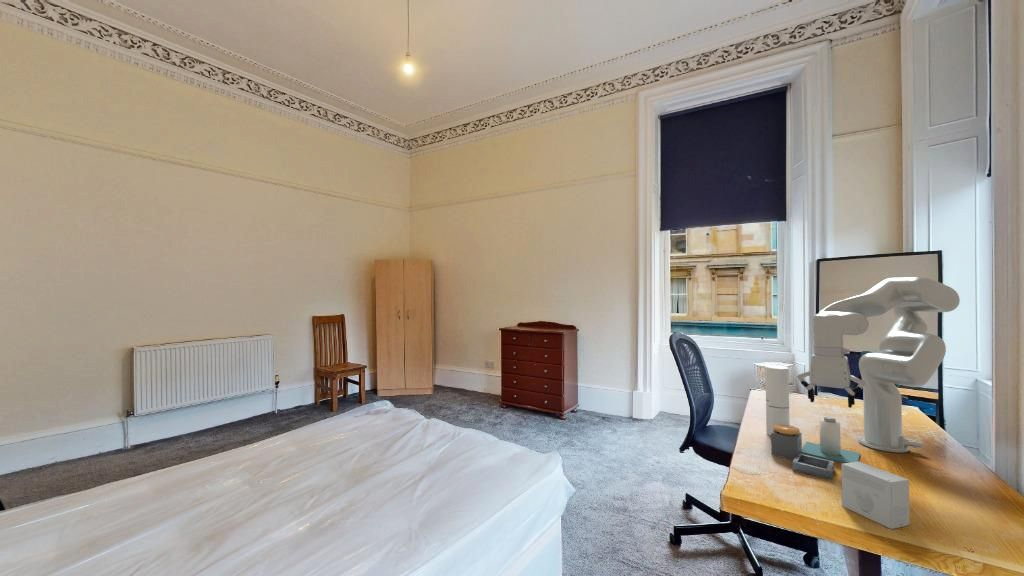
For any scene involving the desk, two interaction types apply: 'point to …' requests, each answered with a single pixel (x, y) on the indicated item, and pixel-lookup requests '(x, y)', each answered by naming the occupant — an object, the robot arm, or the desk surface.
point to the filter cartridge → (830, 436)
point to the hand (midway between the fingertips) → (830, 403)
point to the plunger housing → (786, 445)
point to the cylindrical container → (777, 396)
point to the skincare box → (876, 494)
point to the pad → (845, 456)
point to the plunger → (786, 429)
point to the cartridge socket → (813, 466)
